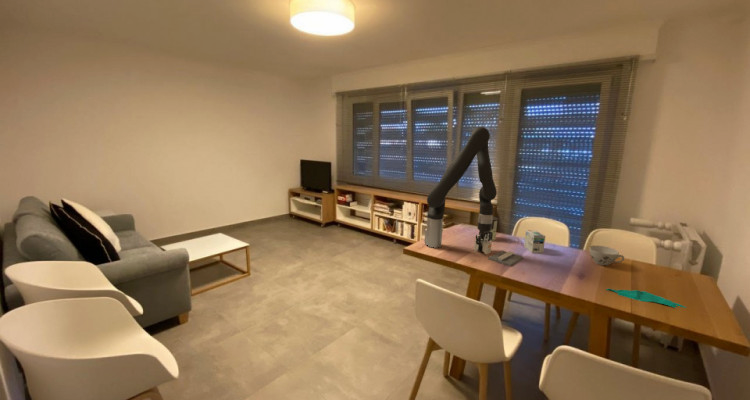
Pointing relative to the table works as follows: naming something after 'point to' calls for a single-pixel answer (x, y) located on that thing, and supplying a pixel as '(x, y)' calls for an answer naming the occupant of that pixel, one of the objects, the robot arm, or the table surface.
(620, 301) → the table surface
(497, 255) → the mounting board
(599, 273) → the table surface
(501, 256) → the metal rail
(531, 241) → the light bulb box
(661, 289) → the table surface
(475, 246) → the block
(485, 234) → the robot arm
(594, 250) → the teacup
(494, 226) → the coffee can
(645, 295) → the cloth
